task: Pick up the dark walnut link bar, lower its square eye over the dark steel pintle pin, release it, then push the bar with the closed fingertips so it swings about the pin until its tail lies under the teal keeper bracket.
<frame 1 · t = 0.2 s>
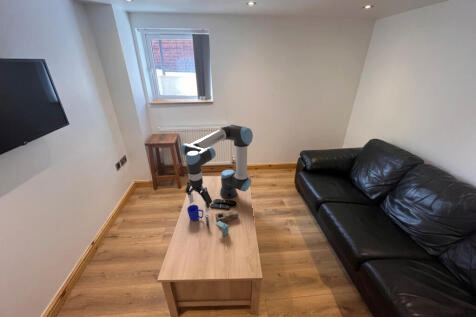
hand: (199, 206, 119), 27 cm above the table, fingers open, 13 cm apart
pintle: (207, 224, 142), on the table
keeper: (225, 233, 134), on the table
link: (237, 216, 148), on the table
mug: (196, 218, 147), on the table
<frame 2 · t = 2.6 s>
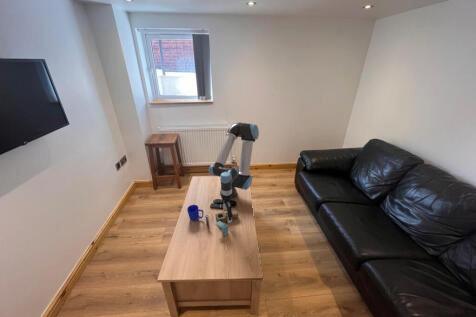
hand: (227, 216, 144), 4 cm above the table, fingers open, 13 cm apart
nothing on the table moved.
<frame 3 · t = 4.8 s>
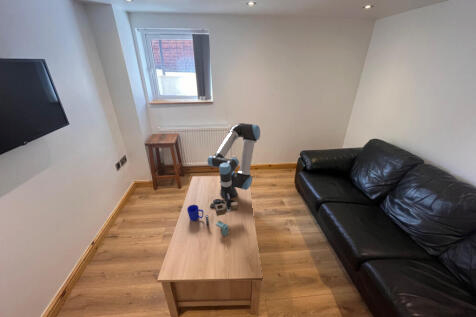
hand: (227, 209, 143), 9 cm above the table, fingers closed on link, 3 cm apart
link: (237, 208, 145), point 8 cm above the table, touching gripper
everything else where it was.
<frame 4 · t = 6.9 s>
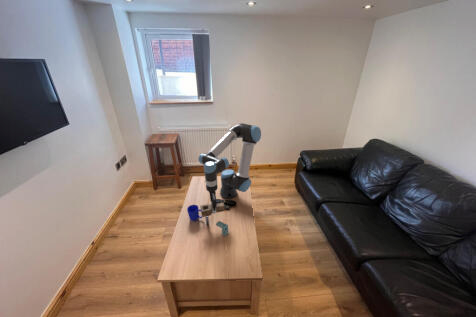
hand: (213, 211, 138), 12 cm above the table, fingers closed on link, 3 cm apart
link: (224, 209, 140), point 11 cm above the table, touching gripper
everything else where it was.
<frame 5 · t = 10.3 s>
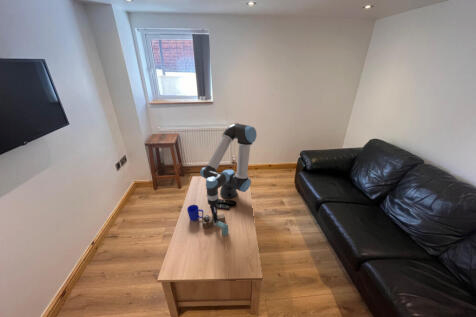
hand: (214, 222, 143), 0 cm above the table, fingers open, 4 cm apart
link: (224, 220, 145), on the table, touching gripper
everything else where it was.
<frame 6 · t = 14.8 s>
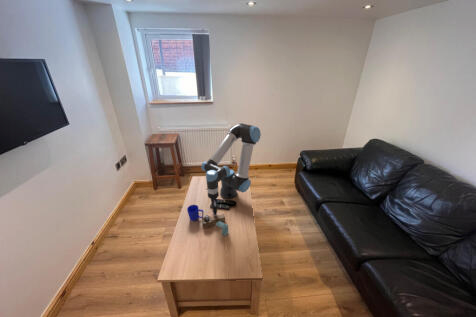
hand: (215, 216, 144), 3 cm above the table, fingers closed
nothing on the table moved.
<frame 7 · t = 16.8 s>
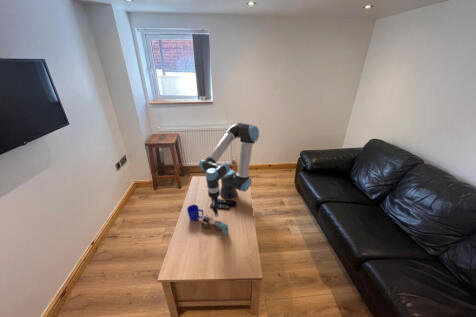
hand: (216, 215, 140), 7 cm above the table, fingers closed
link: (223, 229, 137), on the table
everything else where it was.
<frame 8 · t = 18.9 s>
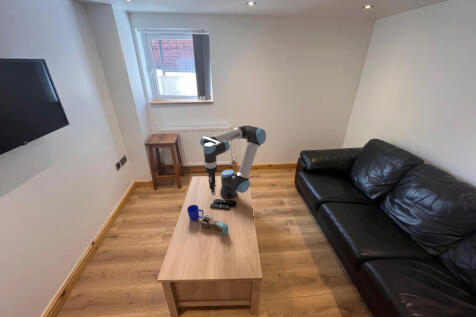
hand: (213, 194, 137), 22 cm above the table, fingers closed
nothing on the table moved.
at the end: link 1.9 cm from the target spot, on the table; link tilted 0°; link 12.9 cm from the pintle (horizontally) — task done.
